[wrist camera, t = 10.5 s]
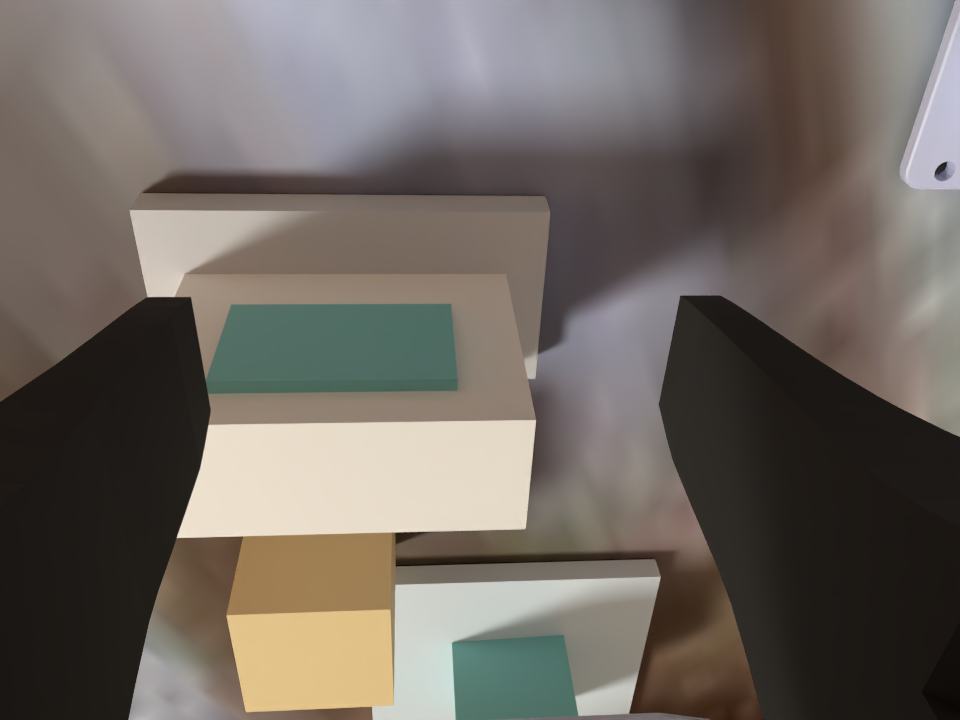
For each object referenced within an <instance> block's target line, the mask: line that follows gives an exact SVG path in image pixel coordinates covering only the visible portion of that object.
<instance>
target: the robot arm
mask: <svg viewBox="0 0 960 720" xmlns="http://www.w3.org/2000/svg"><path fill="white" fill-rule="evenodd" d="M943 162H947V166H946V168H945V169H944V171H942V172H941V173H940V174H938V175H935V170H936V169H937V167H938V166H939V165H940V164H942V163H943ZM899 173H900V176H901V179H902V180H903V181H904V182H905V183H907V184H908V185H909V186H910V187H912V188H916V189H960V0H955V3H954V6H953V9H952V12H951V15H950V18H949V21H948V24H947V27H946V30H945V33H944V36H943V39H942V42H941V45H940V48H939V51H938V54H937V57H936V60H935V63H934V66H933V69H932V72H931V75H930V78H929V81H928V84H927V87H926V90H925V93H924V96H923V99H922V102H921V105H920V108H919V111H918V114H917V117H916V120H915V123H914V126H913V129H912V132H911V135H910V138H909V141H908V144H907V147H906V150H905V153H904V156H903V159H902V162H901V165H900V172H899ZM659 407H660V411H661V416H662V420H663V424H664V428H665V433H666V437H667V440H668V444H669V448H670V452H671V455H672V459H673V462H674V464H675V467H676V469H677V472H678V474H679V477H680V479H681V481H682V484H683V486H684V489H685V491H686V494H687V496H688V499H689V501H690V503H691V506H692V508H693V510H694V513H695V515H696V518H697V520H698V522H699V525H700V527H701V529H702V532H703V534H704V536H705V539H706V541H707V544H708V546H709V548H710V551H711V553H712V555H713V558H714V560H715V563H716V565H717V567H718V570H719V572H720V574H721V577H722V580H723V582H724V585H725V588H726V591H727V593H728V596H729V599H730V602H731V605H732V608H733V612H734V615H735V618H736V622H737V625H738V629H739V632H740V636H741V639H742V642H743V646H744V649H745V653H746V656H747V660H748V663H749V667H750V671H751V675H752V679H753V682H754V686H755V690H756V694H757V697H758V701H759V705H760V709H761V713H762V716H763V720H960V437H958V436H956V435H954V434H952V433H949V432H947V431H945V430H943V429H941V428H939V427H937V426H935V425H933V424H931V423H929V422H927V421H925V420H923V419H921V418H918V417H916V416H914V415H912V414H910V413H908V412H906V411H904V410H902V409H900V408H898V407H897V406H895V405H893V404H891V403H889V402H887V401H885V400H884V399H882V398H880V397H878V396H876V395H875V394H873V393H871V392H870V391H868V390H866V389H865V388H863V387H861V386H860V385H858V384H856V383H854V382H853V381H851V380H849V379H848V378H846V377H844V376H843V375H841V374H839V373H838V372H836V371H835V370H833V369H832V368H830V367H828V366H827V365H825V364H824V363H822V362H821V361H819V360H818V359H816V358H814V357H813V356H811V355H810V354H808V353H807V352H805V351H804V350H802V349H801V348H799V347H798V346H796V345H795V344H794V343H792V342H791V341H789V340H788V339H786V338H785V337H783V336H782V335H780V334H779V333H777V332H776V331H774V330H773V329H772V328H770V327H769V326H767V325H766V324H764V323H763V322H761V321H760V320H758V319H757V318H756V317H754V316H753V315H751V314H750V313H748V312H747V311H745V310H744V309H742V308H740V307H739V306H737V305H736V304H734V303H732V302H731V301H729V300H727V299H725V298H724V297H722V296H680V301H679V306H678V311H677V316H676V321H675V326H674V331H673V336H672V341H671V346H670V351H669V356H668V361H667V366H666V371H665V376H664V381H663V387H662V392H661V397H660V402H659ZM210 413H211V408H210V402H209V397H208V391H207V385H206V379H205V374H204V368H203V362H202V357H201V351H200V345H199V340H198V334H197V328H196V323H195V317H194V311H193V306H192V300H191V297H147V298H145V299H144V300H142V301H141V302H139V303H138V304H136V305H135V306H133V307H132V308H130V309H129V310H128V311H126V312H125V313H124V314H122V315H121V316H120V317H118V318H117V319H116V320H115V321H113V322H112V323H111V324H109V325H108V326H107V327H105V328H104V329H103V330H101V331H100V332H99V333H98V334H96V335H95V336H94V337H92V338H91V339H90V340H88V341H87V342H86V343H84V344H83V345H81V346H80V347H79V348H77V349H76V350H75V351H73V352H72V353H71V354H69V355H68V356H67V357H65V358H64V359H63V360H61V361H60V362H59V363H57V364H56V365H55V366H53V367H52V368H50V369H49V370H47V371H46V372H44V373H43V374H41V375H40V376H38V377H37V378H35V379H34V380H32V381H31V382H29V383H28V384H26V385H25V386H23V387H22V388H20V389H19V390H17V391H16V392H14V393H13V394H11V395H10V396H9V397H7V398H6V399H4V400H3V401H1V402H0V720H128V718H129V713H130V708H131V703H132V698H133V693H134V688H135V683H136V679H137V674H138V670H139V665H140V661H141V656H142V652H143V647H144V643H145V638H146V634H147V629H148V625H149V620H150V617H151V614H152V610H153V607H154V603H155V600H156V597H157V593H158V590H159V587H160V584H161V582H162V579H163V576H164V573H165V570H166V567H167V564H168V561H169V559H170V556H171V553H172V550H173V547H174V544H175V541H176V538H177V535H178V533H179V530H180V527H181V524H182V521H183V518H184V515H185V512H186V509H187V507H188V504H189V501H190V498H191V495H192V492H193V489H194V486H195V483H196V480H197V477H198V474H199V471H200V467H201V462H202V457H203V452H204V447H205V442H206V436H207V431H208V425H209V419H210ZM501 720H711V719H706V718H698V717H690V716H682V715H674V714H665V713H638V714H615V715H592V716H570V717H547V718H524V719H501Z"/></svg>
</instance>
